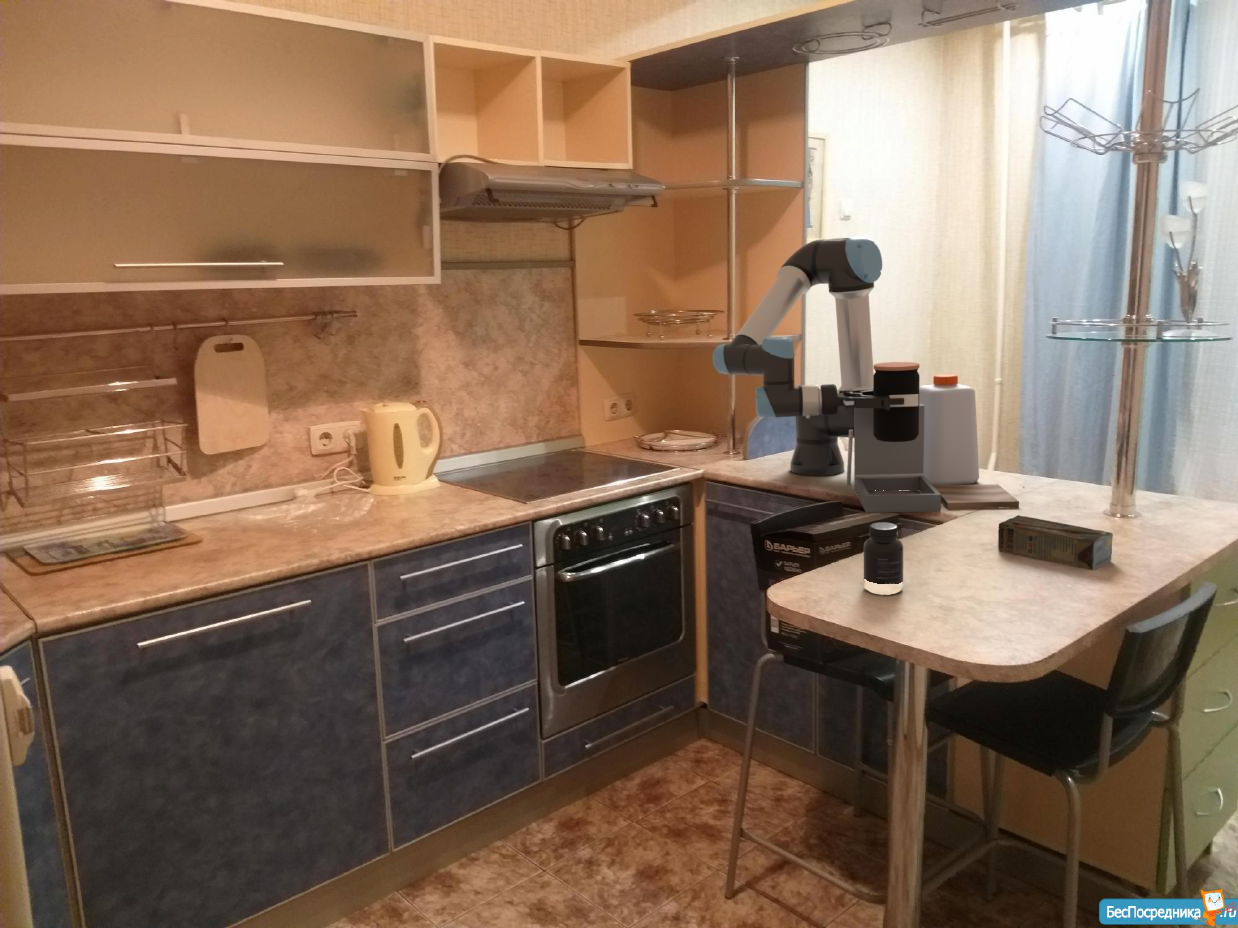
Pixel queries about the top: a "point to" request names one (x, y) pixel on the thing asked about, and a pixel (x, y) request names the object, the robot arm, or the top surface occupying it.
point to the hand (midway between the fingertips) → (913, 396)
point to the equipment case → (889, 469)
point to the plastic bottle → (949, 432)
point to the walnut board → (976, 496)
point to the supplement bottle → (883, 554)
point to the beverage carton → (1055, 542)
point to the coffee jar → (897, 420)
